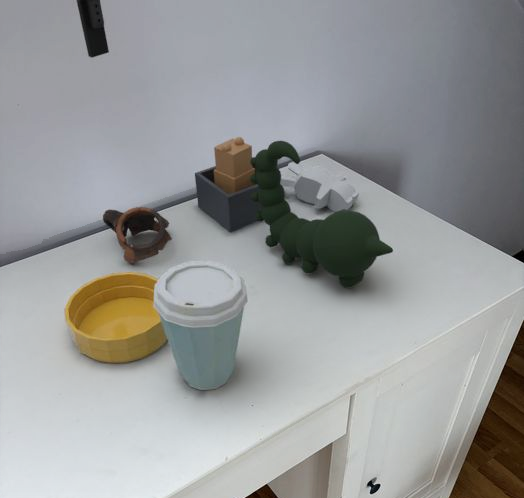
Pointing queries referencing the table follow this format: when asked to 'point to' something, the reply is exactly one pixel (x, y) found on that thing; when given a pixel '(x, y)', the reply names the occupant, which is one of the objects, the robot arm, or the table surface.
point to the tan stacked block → (233, 165)
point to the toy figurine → (313, 226)
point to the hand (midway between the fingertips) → (69, 44)
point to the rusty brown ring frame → (138, 231)
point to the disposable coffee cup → (202, 319)
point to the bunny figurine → (320, 187)
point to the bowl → (116, 318)
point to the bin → (226, 202)
